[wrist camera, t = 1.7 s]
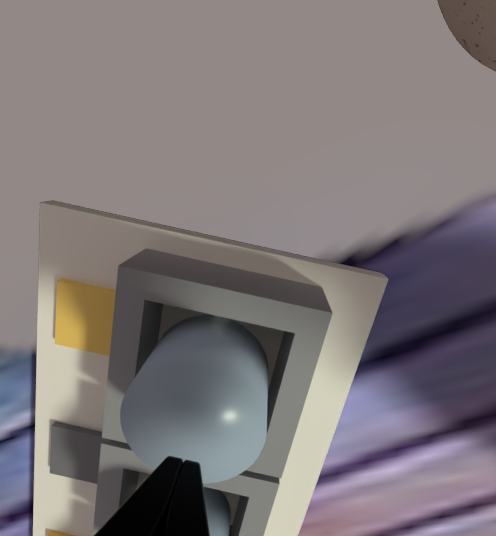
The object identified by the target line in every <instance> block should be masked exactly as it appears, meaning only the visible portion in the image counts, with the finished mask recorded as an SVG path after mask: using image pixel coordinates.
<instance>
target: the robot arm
mask: <svg viewBox="0 0 496 536" xmlns="http://www.w3.org/2000/svg"><path fill="white" fill-rule="evenodd" d="M94 536H210V532H209V524H208V517H207V510H206V503H205V495H204V488H203V481H202V473H201V466H200V463H199V462H195V461H191V460H185V461H184V462H183V459H182V458H178V457H174V456H168V457H166V458H165V459H164V460H163V461H162V463H161V464H160V465H159V466H158V467H157V468H156V469H155V470H154V471H153V472H152V473H151V474H150V475H149V477H148V478H147V479H146V480H145V481H144V482H143V483H142V484H141V485H140V486H139V487H138V488H137V489H136V490H135V492H134V493H133V494H132V495H131V496H130V497H129V498H128V499H127V500H126V501H125V502H124V503H123V504H122V506H121V507H120V508H119V509H118V510H117V511H116V512H115V513H114V514H113V515H112V516H111V517H110V518H109V520H108V521H107V522H106V523H105V524H104V525H103V526H102V527H101V528H100V529H99V530H98V531H97V532H96V533H95V535H94Z"/></svg>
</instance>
